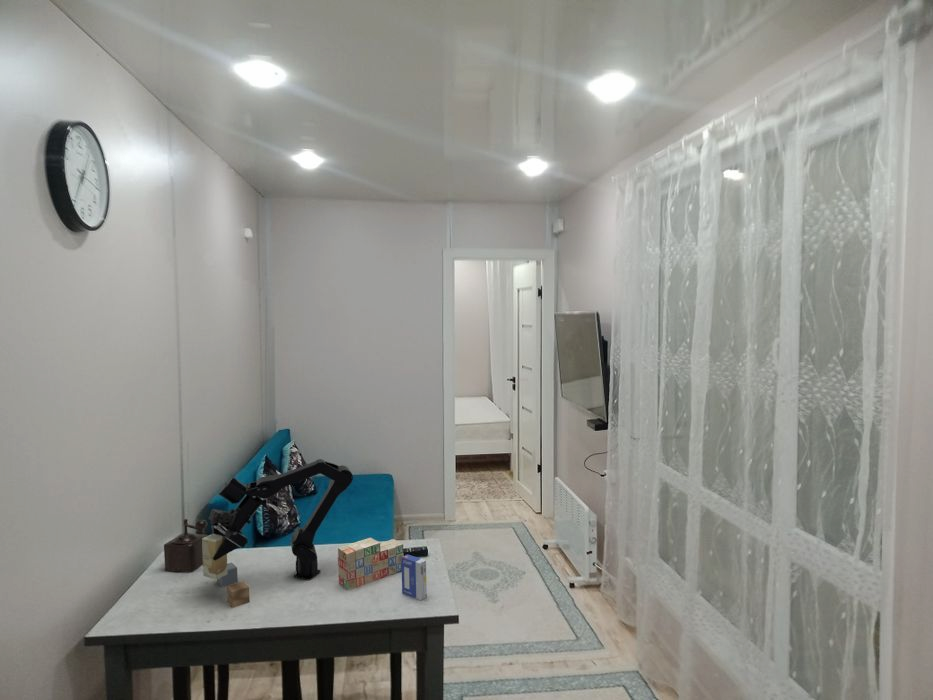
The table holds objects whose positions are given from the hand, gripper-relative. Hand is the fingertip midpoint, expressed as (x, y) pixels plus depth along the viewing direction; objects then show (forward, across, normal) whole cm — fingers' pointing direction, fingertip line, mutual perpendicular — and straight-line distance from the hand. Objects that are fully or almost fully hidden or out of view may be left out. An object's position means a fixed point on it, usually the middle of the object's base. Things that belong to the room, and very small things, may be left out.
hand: (209, 555), depth 176 cm
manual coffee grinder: (+8, -28, +11) cm, 31 cm away
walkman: (-24, +41, +44) cm, 65 cm away
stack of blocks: (-21, +22, +41) cm, 51 cm away
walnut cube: (+6, +8, +13) cm, 17 cm away
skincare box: (+4, 0, +6) cm, 7 cm away
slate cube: (+5, -8, +14) cm, 17 cm away
